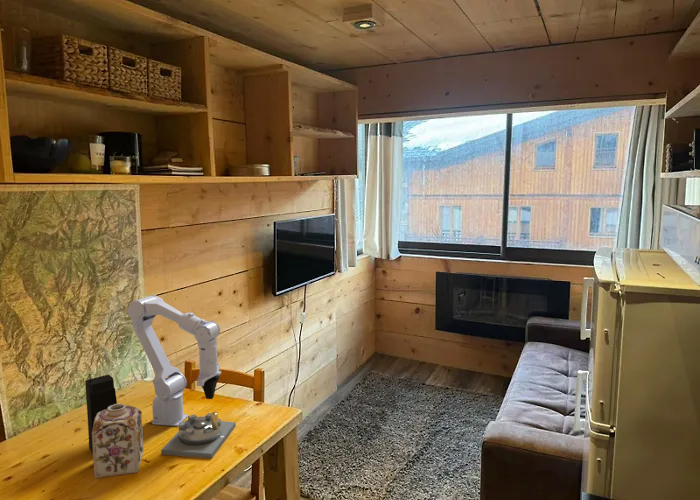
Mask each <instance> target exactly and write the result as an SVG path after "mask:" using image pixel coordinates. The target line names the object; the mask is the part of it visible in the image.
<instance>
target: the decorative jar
mask: <svg viewBox="0 0 700 500" xmlns="http://www.w3.org/2000/svg"><path fill="white" fill-rule="evenodd" d="M142 414H143V412H142V410H140V408H137V407H135V406H131V405H128V404H127V405H125V404H124V403H117V404H114V405H111V406H109V407H108V409H105V410H103V411H100V412H98V413H97V415H96V417H95V420H94V426H93V431H92V433H91V434H92V442H93V453H92V458H93V459H92V460H93V473H94V478H95V479H99V478H100V479H101V478H108V477H114V476H122V475H130V474H136V473H138V472H139V471H140V467H141V463H142V459H143V454H144V435H143V433H144V432H143V430H144V429H143V420H142V419H143V417H142Z"/></svg>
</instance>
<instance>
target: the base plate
mask: <svg viewBox="0 0 700 500" xmlns="http://www.w3.org/2000/svg"><path fill="white" fill-rule="evenodd" d="M235 428H236V421H224V420H223V421H222V420H221V435H220V437H219V438H217V439H216V440H214V441H212V442H210V443H207V444H202V445H187V444H184V443H182V442H181V441H180V440H179V431H178V432H176V434H175V435H174V436H173V437H172V438H171V439H170V440H169V441H168V442H167V443H166V444H165V445H164V447H162V448H161V452H160V453H161V455H164V456H165V455H166V456H178V457H187V458H188V457H189V458H203V459H213V457H215V455H216V454H217V452H218V451H219V450H220V448H221V447H222V445H223V444H224V443H225V442H226V441H227V439H228V438H229V436H230V435H231V433H232V431H234V429H235Z"/></svg>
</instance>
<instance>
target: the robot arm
mask: <svg viewBox="0 0 700 500" xmlns="http://www.w3.org/2000/svg"><path fill="white" fill-rule="evenodd" d="M127 314H128V316H129V319H130V320H131V324H132V328H133V330H134V332H135V335H136V337H137V338H138V341H139V342H140V343H139V344H141V346H142V349H143V351H144V353H145V355H146V358H148V361H149V363H150V365H151V366H152V369H153V371H154V373H155V375H154V377H153V379H152V384H153V387H154V393H155V396H154V398H153V401H152V404H151V405H152V407H151V409H152V422H151V424H152V425H157V426H171V427H172V426H173V427H179V422H185V421H186V419H187V418H188V416H189V414H188V413H184V402H183V400H184V398H183V394H184V390H185V389H186V387H187V383H188V382H187V378H186V377H185V375H184V374H183V373H182V372H181V370H180V369H179V368H178V367H176V366H173V365H172V364H171V362H170V361H169V359H168V356H167V355H166V352H165V350H164V348H163V346H162V344H161V342H160V340H159V338H158V336H157V334H156V332H155V330H154V328H153V326H152V324H153V321H154V319H155V318H156V317H157V315H159V316H162V317H163V318H166V319H168V320H170V321H173V322H175V323H177V325H178V328H179V329H182V330H184V331H185V332H186V333H189V334H190V335H192V336H193V337H194V339H195V340H196V341H197V346H198V356H199V357H198V359H199V373H198V378H197V379H196V386H197V387H201V388H202V390H203V393H204V396H205V399H206V400H213V399H214V397H215V393H216V387H217V384H218V382H219V379H220V376H221V374H222V371H220V370H221V364H220V363H218V342H217V341H218V340H217V339H218V338H217V337H219V336H220V334H221V328H220V326H219V324H218V323H217V322H216V321H214V320H209V321H207V320H206V319H204V318H200V317H198V316H197V315H195V313H194V312H184V313H183V312H182V311H180V310H178V309H176V308H175V307H173V306H171V305H170V304H168V303H167V302H166V301H164V300H163V298H162V297H159V296H157V295H155V294H152V295H149V296H147V297H143V298H140V299H135V300H132V301H131V302H130V303H129V305H128V308H127Z"/></svg>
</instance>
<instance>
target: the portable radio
mask: <svg viewBox="0 0 700 500" xmlns="http://www.w3.org/2000/svg"><path fill="white" fill-rule="evenodd" d="M91 375H92V374H91V373H89V374H88V379H85V381H84V383H85V384H84V385H85V397H86V414H87V430H88V431H87V432H88V449H89V451H90V452H91V454H93V442H92V434H91V433H92V431H93V426H94V420H95V417H96V415H97V413H98V412H100V411H103V410H105V409H108V407H109V406H111V405H114V404H118V399H117V392H116V388H115V384H114V383H115V380H114V377H113V376H111V374H105V375H101V376H97V377H94V378H91V377H92V376H91Z"/></svg>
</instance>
